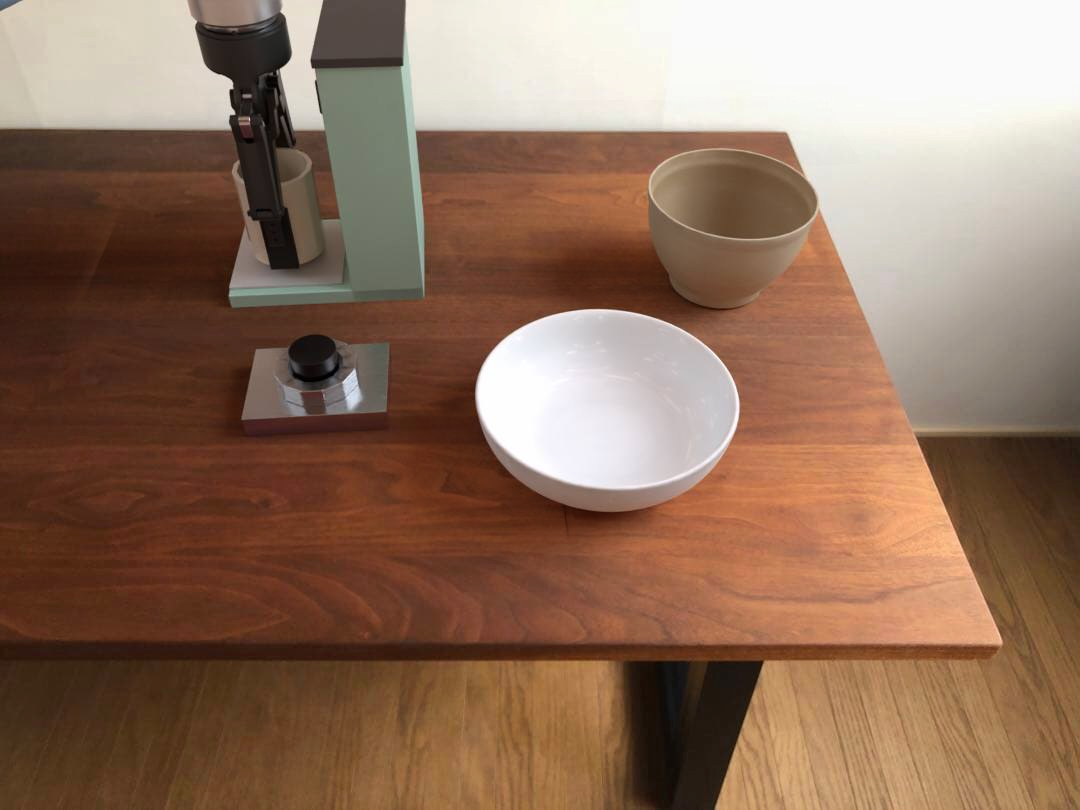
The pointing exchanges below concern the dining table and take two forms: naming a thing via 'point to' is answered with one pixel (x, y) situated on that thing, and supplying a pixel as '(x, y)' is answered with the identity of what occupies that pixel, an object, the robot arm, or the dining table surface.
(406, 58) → the coffee maker
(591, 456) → the serving bowl
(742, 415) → the dining table surface
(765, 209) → the planter bowl
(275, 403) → the button block
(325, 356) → the button
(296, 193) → the cup
